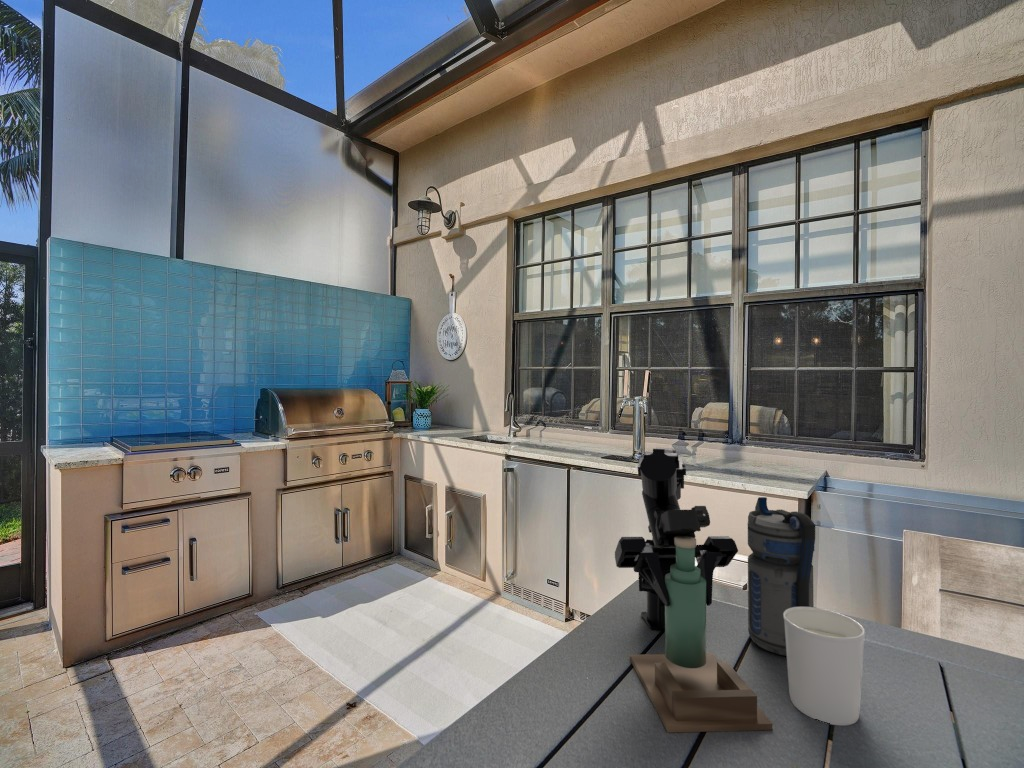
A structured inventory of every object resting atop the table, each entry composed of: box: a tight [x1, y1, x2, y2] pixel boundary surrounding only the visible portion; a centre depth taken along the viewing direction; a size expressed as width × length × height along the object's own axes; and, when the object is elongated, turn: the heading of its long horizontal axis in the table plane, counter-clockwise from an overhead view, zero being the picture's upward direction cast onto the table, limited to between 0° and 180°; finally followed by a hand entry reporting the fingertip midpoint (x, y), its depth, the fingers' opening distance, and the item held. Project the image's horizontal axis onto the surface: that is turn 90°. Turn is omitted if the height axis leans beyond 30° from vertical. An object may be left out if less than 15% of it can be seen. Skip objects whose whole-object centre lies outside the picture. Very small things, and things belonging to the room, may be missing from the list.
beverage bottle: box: [747, 496, 816, 657], centre depth 86 cm, size 10×13×25 cm
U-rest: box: [629, 652, 773, 733], centre depth 73 cm, size 18×14×4 cm
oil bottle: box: [664, 536, 707, 668], centre depth 75 cm, size 6×6×18 cm
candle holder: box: [783, 607, 866, 727], centre depth 69 cm, size 10×10×12 cm
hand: (688, 604), depth 74 cm, fingers closed on oil bottle, 6 cm apart
